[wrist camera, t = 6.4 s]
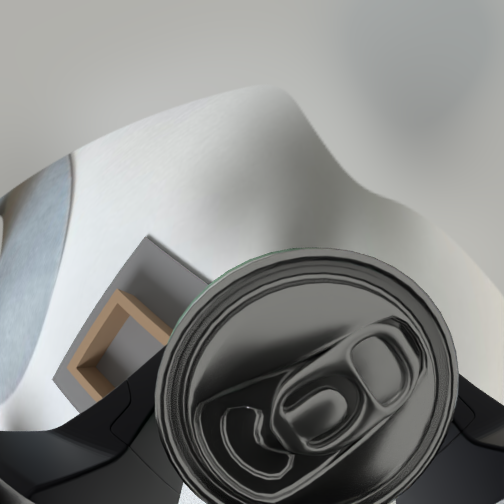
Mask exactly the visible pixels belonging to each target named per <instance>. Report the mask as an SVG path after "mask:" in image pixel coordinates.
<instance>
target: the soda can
mask: <svg viewBox="0 0 504 504" xmlns="http://www.w3.org/2000/svg"><path fill="white" fill-rule="evenodd" d="M458 382H459V371H458V363H457V355H456V350H455V346H454V343H453V340H452V336H451V333H450V330H449V328H448V326H447V324H446V322H445V320H444V318H443V316H442V314H441V312H440V311H439V309H438V308H437V307H436V305H435V304H434V302H433V301H432V300H431V298H430V297H429V296H428V294H427V293H426V292H425V291H424V290H423V289H422V288H420V287H419V286H418V285H417V284H416V283H415V282H414V281H413V280H412V279H411V278H409V277H408V276H406V275H405V274H404V273H402V272H401V271H399V270H398V269H396V268H395V267H393V266H391V265H389V264H387V263H385V262H383V261H380V260H378V259H376V258H374V257H371V256H367V255H364V254H360V253H357V252H353V251H348V250H340V249H332V248H292V249H287V250H281V251H276V252H270V253H267V254H265V255H262V256H259V257H256V258H253V259H250V260H248V261H246V262H244V263H242V264H240V265H238V266H236V267H234V268H232V269H230V270H228V271H227V272H225V273H224V274H223V275H221V276H220V277H219V278H217V279H216V280H214V281H213V282H212V283H210V284H209V285H208V286H207V287H206V288H205V289H204V290H203V291H202V292H201V293H200V294H199V295H198V296H197V297H196V298H195V299H194V300H193V301H192V302H191V303H190V305H189V306H188V308H187V309H186V310H185V312H184V313H183V314H182V316H181V317H180V318H179V320H178V322H177V324H176V326H175V328H174V330H173V332H172V334H171V336H170V337H169V340H168V343H167V346H166V348H165V350H164V354H163V357H162V360H161V363H160V366H159V369H158V373H157V380H156V388H155V418H156V423H157V427H158V432H159V436H160V440H161V443H162V445H163V448H164V450H165V452H166V455H167V457H168V459H169V461H170V463H171V465H172V466H173V468H174V469H175V471H176V472H177V474H178V475H179V477H180V478H181V480H182V481H183V482H184V483H185V484H186V485H187V486H188V487H189V488H190V490H191V491H192V492H193V493H194V494H195V495H196V496H197V497H199V498H200V499H201V500H202V501H204V502H205V503H206V504H390V503H391V502H393V501H394V500H395V499H397V498H398V497H399V496H401V495H402V494H403V493H404V492H406V491H407V490H408V489H409V488H410V487H411V486H412V485H413V484H414V483H415V482H416V481H417V480H418V479H419V478H420V477H421V475H422V474H423V473H424V472H425V471H426V469H427V468H428V467H429V465H430V464H431V462H432V461H433V460H434V458H435V457H436V455H437V453H438V452H439V450H440V448H441V446H442V444H443V442H444V440H445V438H446V436H447V434H448V431H449V428H450V425H451V423H452V420H453V417H454V413H455V408H456V403H457V397H458Z"/></svg>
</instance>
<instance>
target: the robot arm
mask: <svg viewBox="0 0 504 504" xmlns="http://www.w3.org/2000/svg"><path fill="white" fill-rule="evenodd" d="M166 346H167V344H166V345H165V346H164V347H163V348H162V349H160V350H159V351H158V352H157V353H156V354H155V355H154V356H152V357H151V358H150V359H149V360H148V361H147V362H145V363H144V364H143V365H142V366H141V367H140V368H139V369H137V370H136V371H135V372H134V373H133V374H132V375H130V376H129V377H128V378H127V380H124V381H123V382H122V383H121V384H120V385H119V386H117V387H116V388H115V389H114V390H113V391H111V392H110V393H109V394H108V395H106V396H105V397H104V398H102V399H101V400H99V401H98V402H97V403H95V404H94V405H92V406H91V407H89V408H88V409H86V410H85V411H83V412H82V413H80V414H79V415H77V416H76V417H74V418H73V419H71V420H70V421H68V422H67V423H65V424H63V425H62V426H60V427H58V428H55V429H52V430H47V431H0V504H178V502H179V498H180V494H181V490H182V486H183V481H182V480H181V478H180V477H179V475H178V474H177V472H176V471H175V469H174V468H173V466H172V465H171V463H170V461H169V459H168V457H167V455H166V452H165V450H164V448H163V445H162V443H161V440H160V436H159V432H158V427H157V423H156V418H155V388H156V380H157V373H158V369H159V366H160V363H161V360H162V357H163V354H164V350H165V348H166ZM396 504H504V405H502V404H501V403H499V402H498V401H496V400H495V399H493V398H492V397H490V396H489V395H487V394H486V393H484V392H483V391H481V390H480V389H479V388H477V387H476V386H474V385H473V384H472V383H471V382H469V381H468V380H467V379H465V378H464V377H463V376H462V375H460V374H459V382H458V397H457V403H456V408H455V413H454V417H453V420H452V423H451V425H450V428H449V431H448V434H447V436H446V438H445V440H444V442H443V444H442V446H441V448H440V450H439V452H438V453H437V455H436V457H435V458H434V460H433V461H432V462H431V464H430V465H429V467H428V468H427V469H426V471H425V472H424V473H423V474H422V475H421V477H420V478H419V479H418V480H417V481H416V482H415V483H414V484H413V485H412V486H411V487H410V488H409V489H408V490H407V491H406V492H404V493H403V494H402V495H401V496H399V497H398V498H397V499H396Z"/></svg>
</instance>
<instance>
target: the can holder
mask: <svg viewBox="0 0 504 504" xmlns="http://www.w3.org/2000/svg"><path fill="white" fill-rule="evenodd" d="M207 286H208V284H207V283H206V282H204V281H203V280H202V279H200V278H199V277H197V276H196V275H195V274H193V273H192V272H191V271H189V270H188V269H187V268H185V267H184V266H183V265H181V264H180V263H179V262H177V261H176V260H175V259H174V258H172V257H171V256H170V255H168V254H167V253H166V252H164V251H163V250H162V249H161V248H159V247H158V246H157V245H155V244H154V243H153V242H152V241H150V240H149V239H148V238H147V237H145V238H144V239H143V240H142V242H141V243H140V244H139V246H138V247H137V248H136V250H135V251H134V252H133V254H132V255H131V256H130V258H129V259H128V260H127V262H126V263H125V264H124V266H123V267H122V269H121V270H120V271H119V273H118V274H117V276H116V277H115V278H114V280H113V281H112V283H111V284H110V286H109V287H108V288H107V290H106V291H105V293H104V294H103V296H102V297H101V299H100V300H99V302H98V303H97V305H96V306H95V308H94V309H93V311H92V313H91V314H90V316H89V317H88V319H87V320H86V322H85V324H84V325H83V327H82V328H81V330H80V332H79V333H78V335H77V337H76V338H75V340H74V342H73V343H72V345H71V347H70V348H69V350H68V352H67V354H66V355H65V357H64V359H63V361H62V362H61V364H60V366H59V368H58V370H57V371H56V373H55V375H54V377H53V379H52V380H53V381H54V383H55V384H56V385H57V386H58V388H59V389H60V390H61V392H62V393H63V394H64V395H65V397H66V398H67V399H68V400H69V401H70V403H71V404H72V405H73V406H74V407H75V408H76V410H77V411H78V412H79V413H82V412H83V411H85V410H86V409H88V408H89V407H91V406H92V405H94V404H95V403H97V402H98V401H99V400H101V399H102V398H104V397H105V396H106V395H108V394H109V393H110V392H111V391H113V390H114V389H115V388H116V387H117V386H119V385H120V384H121V383H122V382H123V381H124V380H127V378H128V377H129V376H130V375H132V374H133V373H134V372H135V371H136V370H137V369H139V368H140V367H141V366H142V365H143V364H144V363H145V362H147V361H148V360H149V359H150V358H151V357H152V356H154V355H155V354H156V353H157V352H158V351H159V350H160V349H162V348H163V347H164V346H165V345H166V344H167V343H168V340H169V337H170V336H171V334H172V332H173V330H174V328H175V326H176V324H177V322H178V320H179V318H180V317H181V316H182V314H183V313H184V312H185V310H186V309H187V308H188V306H189V305H190V303H191V302H192V301H193V300H194V299H195V298H196V297H197V296H198V295H199V294H200V293H201V292H202V291H203V290H204V289H205V288H206V287H207Z"/></svg>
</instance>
